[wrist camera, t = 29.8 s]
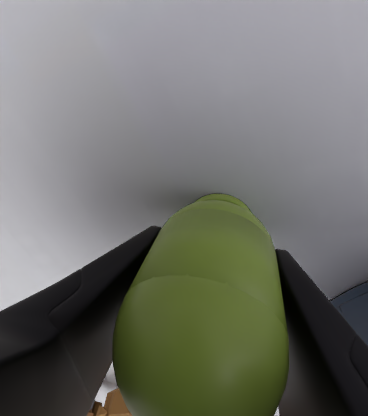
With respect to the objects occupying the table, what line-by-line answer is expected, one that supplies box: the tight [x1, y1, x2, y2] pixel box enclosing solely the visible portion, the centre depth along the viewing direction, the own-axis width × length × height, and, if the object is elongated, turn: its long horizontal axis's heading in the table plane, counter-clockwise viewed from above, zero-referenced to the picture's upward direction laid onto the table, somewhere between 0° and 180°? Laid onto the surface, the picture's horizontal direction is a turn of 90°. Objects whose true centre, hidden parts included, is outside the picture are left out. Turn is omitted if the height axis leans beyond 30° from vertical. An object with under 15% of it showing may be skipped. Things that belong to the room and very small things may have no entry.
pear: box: [112, 194, 289, 416], centre depth 7 cm, size 4×4×8 cm
